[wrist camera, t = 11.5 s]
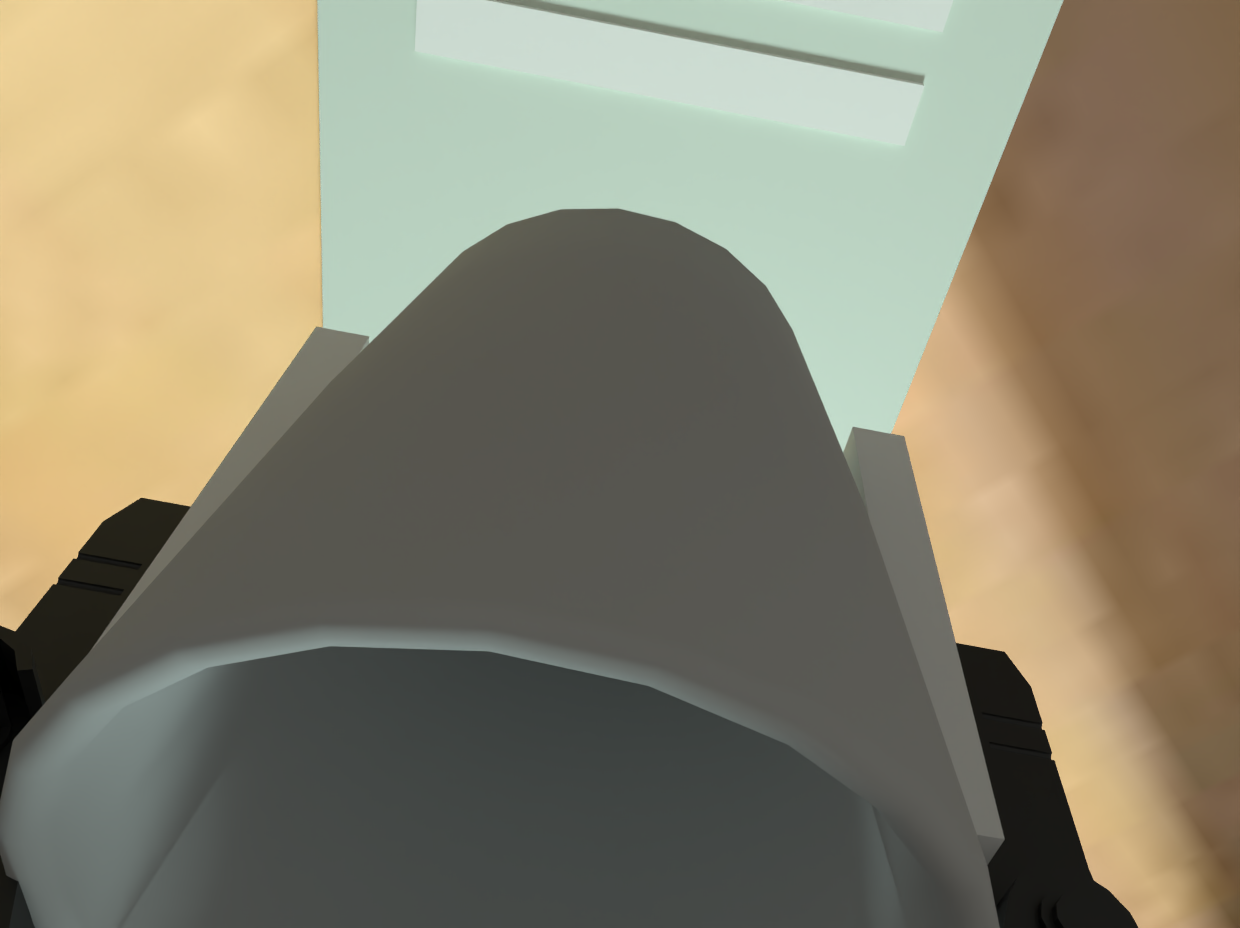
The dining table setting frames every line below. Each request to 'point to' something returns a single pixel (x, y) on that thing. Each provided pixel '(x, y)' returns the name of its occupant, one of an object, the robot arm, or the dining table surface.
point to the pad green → (681, 149)
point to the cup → (518, 641)
